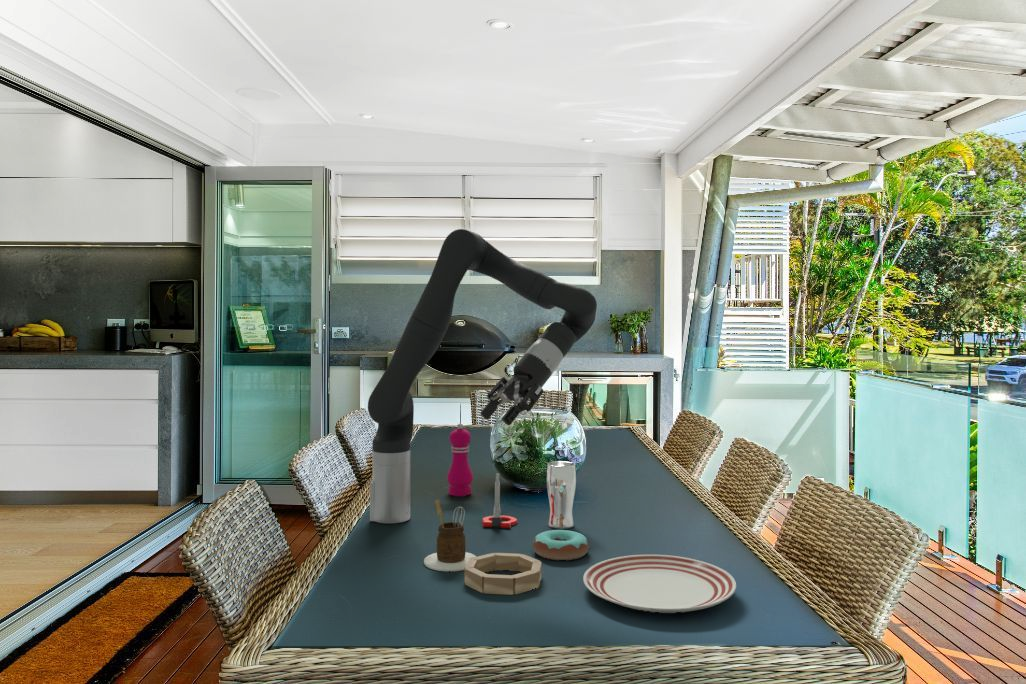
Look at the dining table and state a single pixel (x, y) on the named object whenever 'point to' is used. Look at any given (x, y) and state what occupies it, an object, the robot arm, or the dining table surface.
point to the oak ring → (503, 583)
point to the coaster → (437, 565)
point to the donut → (560, 545)
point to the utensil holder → (450, 540)
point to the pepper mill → (460, 463)
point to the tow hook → (498, 512)
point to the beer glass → (561, 493)
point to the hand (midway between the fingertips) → (494, 419)
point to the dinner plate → (660, 583)
